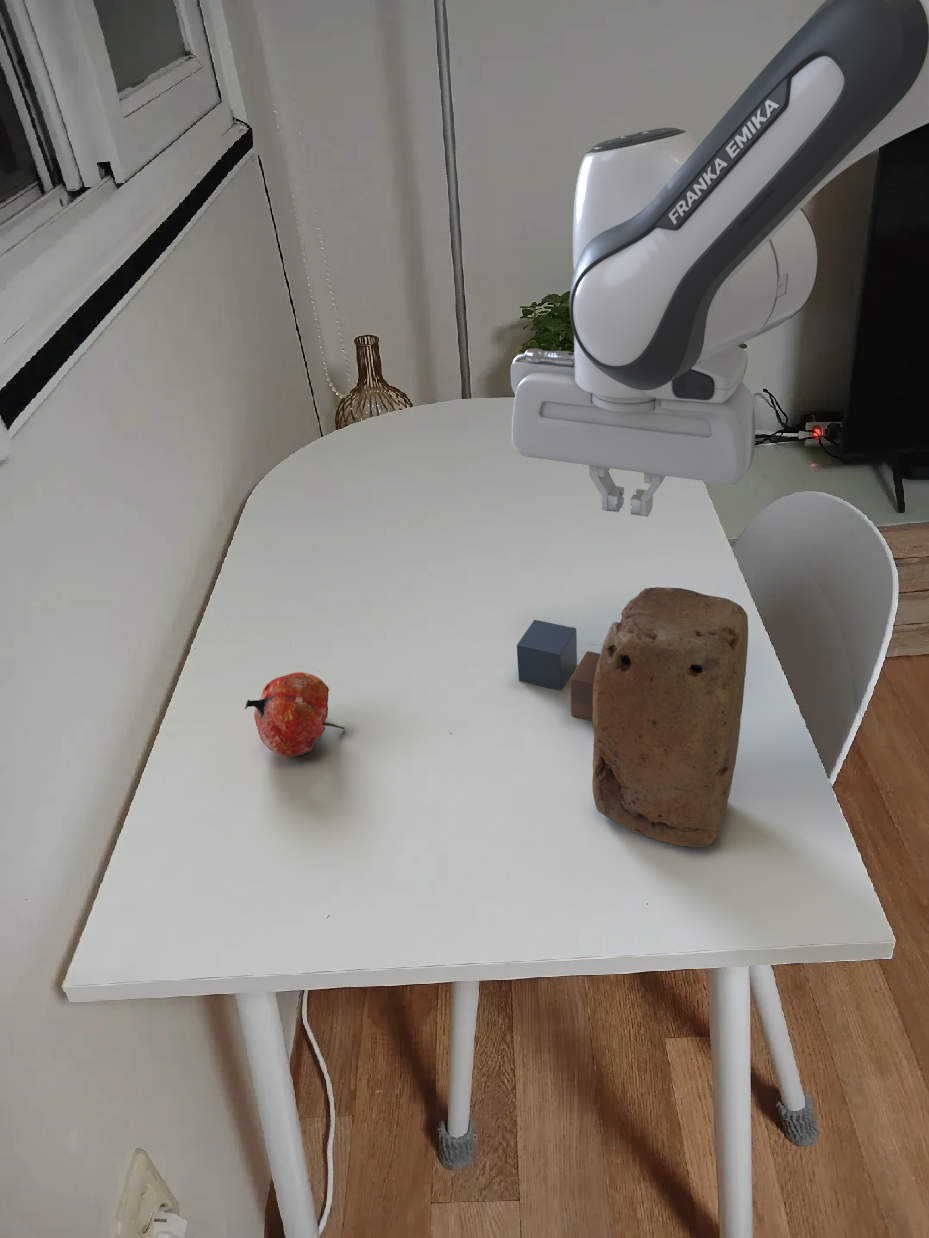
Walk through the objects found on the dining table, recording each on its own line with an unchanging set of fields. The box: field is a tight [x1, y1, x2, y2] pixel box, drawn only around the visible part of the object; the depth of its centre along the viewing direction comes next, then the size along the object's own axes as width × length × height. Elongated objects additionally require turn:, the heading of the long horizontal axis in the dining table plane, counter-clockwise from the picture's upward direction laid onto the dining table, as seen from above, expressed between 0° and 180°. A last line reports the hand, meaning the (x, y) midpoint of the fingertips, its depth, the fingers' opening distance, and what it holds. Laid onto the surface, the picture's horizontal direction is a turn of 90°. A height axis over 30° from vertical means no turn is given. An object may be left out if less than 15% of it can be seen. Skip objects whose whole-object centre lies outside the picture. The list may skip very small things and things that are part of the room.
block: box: [591, 586, 749, 848], centre depth 72 cm, size 11×8×20 cm
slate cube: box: [516, 619, 578, 691], centre depth 92 cm, size 4×4×4 cm
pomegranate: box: [244, 671, 346, 758], centre depth 86 cm, size 7×7×10 cm
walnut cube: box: [569, 650, 600, 722], centre depth 87 cm, size 4×4×4 cm
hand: (627, 510), depth 83 cm, fingers closed
